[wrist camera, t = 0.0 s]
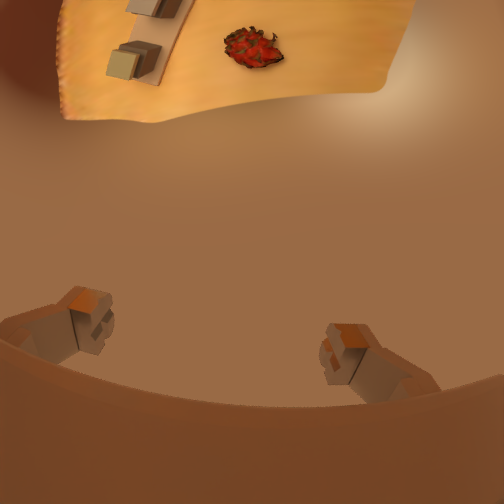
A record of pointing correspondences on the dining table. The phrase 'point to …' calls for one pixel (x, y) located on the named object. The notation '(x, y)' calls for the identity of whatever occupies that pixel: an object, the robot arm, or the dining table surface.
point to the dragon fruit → (251, 48)
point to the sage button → (122, 64)
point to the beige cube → (143, 6)
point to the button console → (156, 39)
